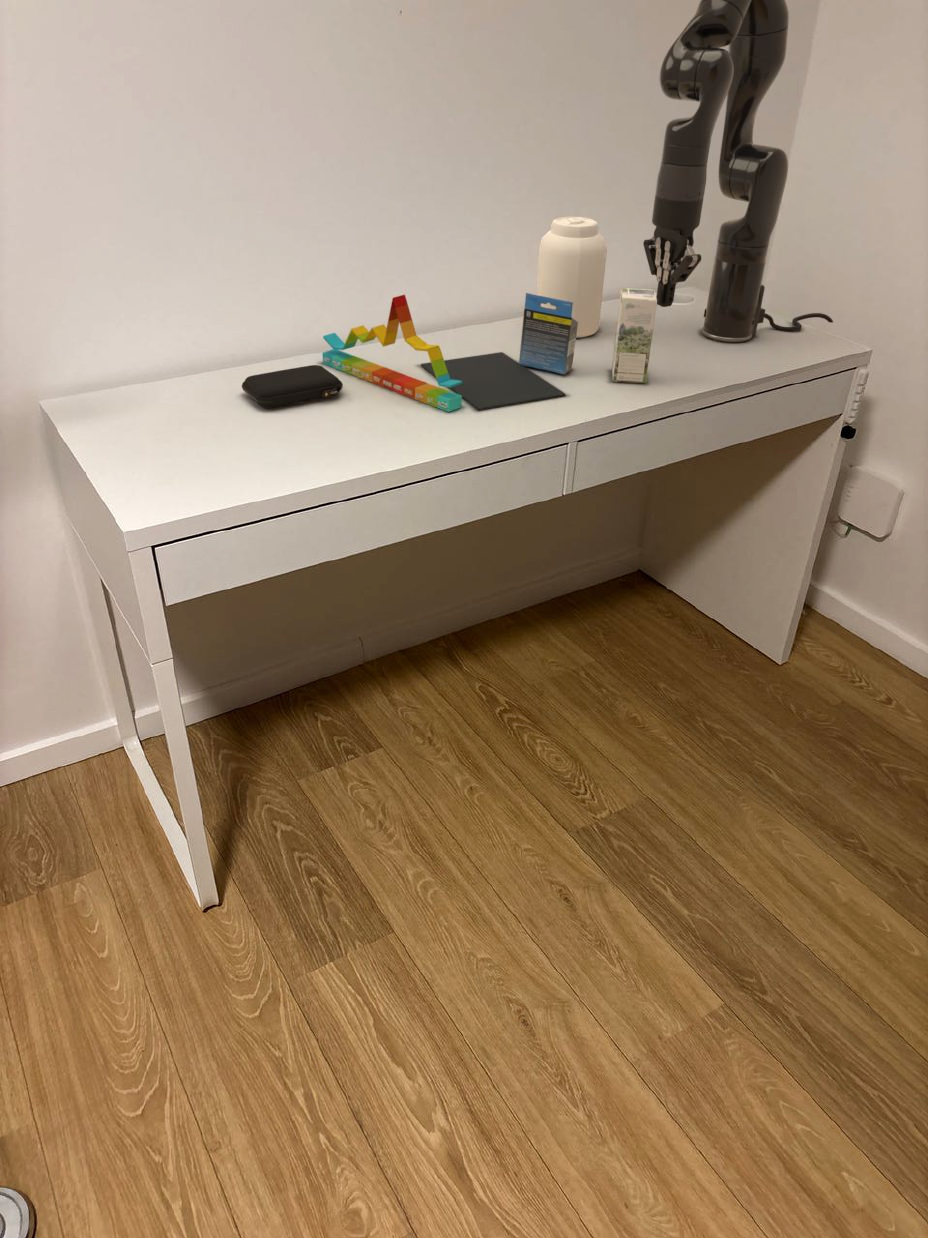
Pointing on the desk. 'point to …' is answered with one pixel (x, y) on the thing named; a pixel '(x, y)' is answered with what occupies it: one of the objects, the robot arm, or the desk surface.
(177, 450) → the desk surface
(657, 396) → the desk surface
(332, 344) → the chart
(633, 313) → the syrup box
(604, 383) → the desk surface
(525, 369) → the mat
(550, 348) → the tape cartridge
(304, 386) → the carrying case
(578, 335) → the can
